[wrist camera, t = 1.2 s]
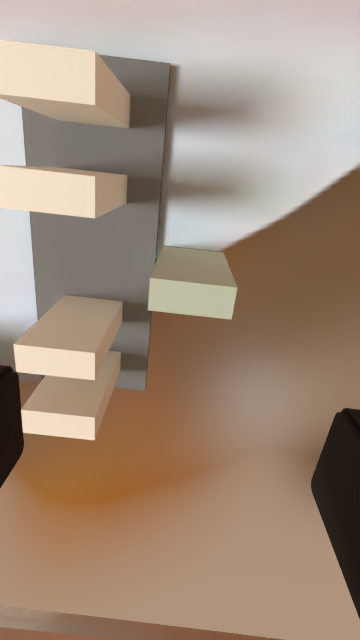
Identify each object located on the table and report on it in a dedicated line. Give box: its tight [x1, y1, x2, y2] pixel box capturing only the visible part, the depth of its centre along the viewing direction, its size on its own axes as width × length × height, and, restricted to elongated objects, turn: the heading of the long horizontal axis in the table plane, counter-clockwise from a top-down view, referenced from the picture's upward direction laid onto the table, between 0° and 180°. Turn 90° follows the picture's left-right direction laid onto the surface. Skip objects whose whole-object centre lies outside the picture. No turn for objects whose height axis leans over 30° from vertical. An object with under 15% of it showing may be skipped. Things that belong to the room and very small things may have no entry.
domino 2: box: [0, 165, 127, 218], centre depth 21 cm, size 2×5×9 cm, turn 84°
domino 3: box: [13, 295, 123, 380], centre depth 25 cm, size 2×5×9 cm, turn 84°
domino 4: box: [21, 351, 121, 440], centre depth 27 cm, size 2×5×9 cm, turn 84°
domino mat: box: [22, 55, 170, 391], centre depth 27 cm, size 26×10×1 cm, turn 174°
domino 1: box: [0, 40, 130, 129], centre depth 19 cm, size 2×5×9 cm, turn 84°
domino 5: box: [148, 246, 237, 319], centre depth 24 cm, size 2×5×9 cm, turn 84°
